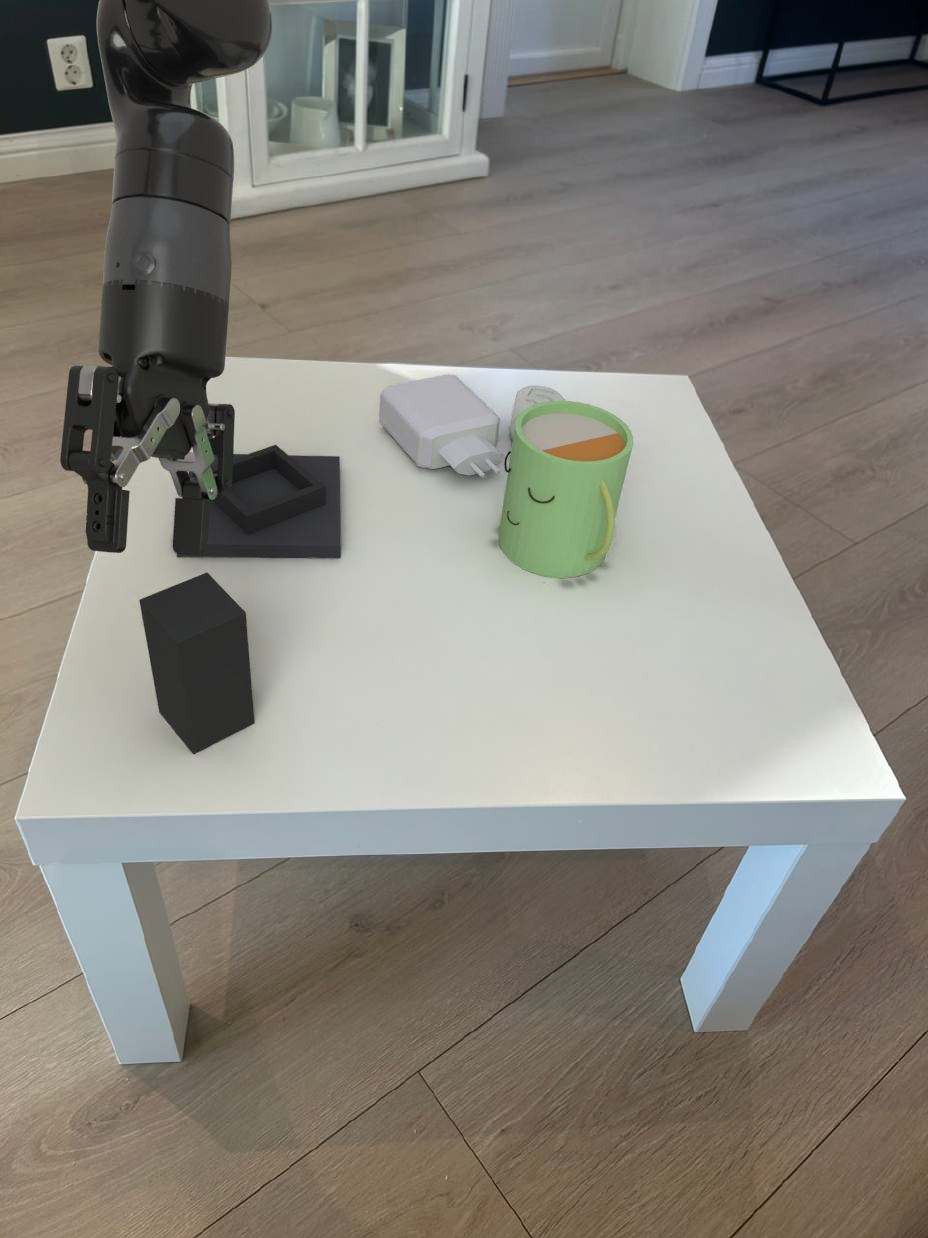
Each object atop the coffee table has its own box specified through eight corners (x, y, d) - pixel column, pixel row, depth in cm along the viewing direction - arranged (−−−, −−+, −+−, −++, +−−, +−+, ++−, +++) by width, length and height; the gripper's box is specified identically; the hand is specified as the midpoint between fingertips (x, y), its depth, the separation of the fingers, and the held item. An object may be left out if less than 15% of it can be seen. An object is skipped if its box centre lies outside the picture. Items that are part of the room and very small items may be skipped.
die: (559, 430, 105) (566, 389, 101) (553, 455, 101) (561, 413, 97) (514, 422, 105) (520, 381, 102) (506, 446, 101) (512, 404, 98)
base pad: (177, 557, 83) (172, 524, 81) (193, 465, 93) (190, 434, 91) (340, 558, 85) (340, 526, 83) (339, 468, 95) (339, 438, 93)
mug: (475, 525, 91) (489, 413, 83) (567, 501, 95) (589, 392, 87) (546, 608, 83) (569, 493, 75) (643, 578, 87) (675, 466, 79)
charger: (446, 505, 93) (378, 426, 102) (527, 484, 96) (454, 411, 106) (450, 463, 89) (380, 386, 98) (534, 444, 93) (458, 371, 102)
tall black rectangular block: (193, 755, 68) (176, 642, 60) (158, 712, 70) (138, 599, 63) (255, 723, 70) (246, 612, 63) (219, 682, 73) (207, 571, 66)
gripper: (181, 320, 68) (165, 551, 69) (34, 255, 54) (18, 544, 55) (276, 321, 65) (259, 560, 67) (148, 255, 52) (129, 556, 53)
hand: (150, 553), depth 61 cm, fingers open, 8 cm apart
